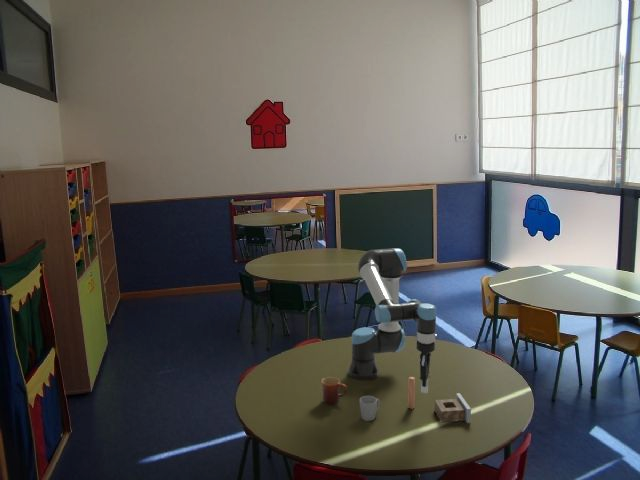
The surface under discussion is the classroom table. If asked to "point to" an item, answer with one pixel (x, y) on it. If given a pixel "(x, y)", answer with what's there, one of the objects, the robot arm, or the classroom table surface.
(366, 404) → the cup
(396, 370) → the classroom table surface
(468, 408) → the base
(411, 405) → the dowel
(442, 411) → the block
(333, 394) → the mug
